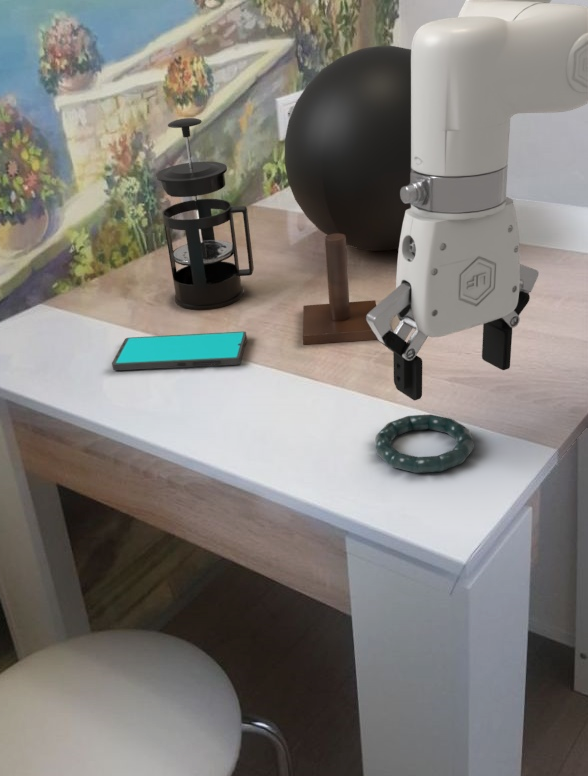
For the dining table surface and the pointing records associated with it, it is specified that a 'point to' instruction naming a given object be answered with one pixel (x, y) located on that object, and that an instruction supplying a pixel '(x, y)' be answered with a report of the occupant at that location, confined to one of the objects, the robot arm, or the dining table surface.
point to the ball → (354, 147)
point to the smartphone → (180, 351)
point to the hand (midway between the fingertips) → (452, 378)
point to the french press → (202, 233)
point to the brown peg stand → (337, 303)
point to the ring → (429, 462)
